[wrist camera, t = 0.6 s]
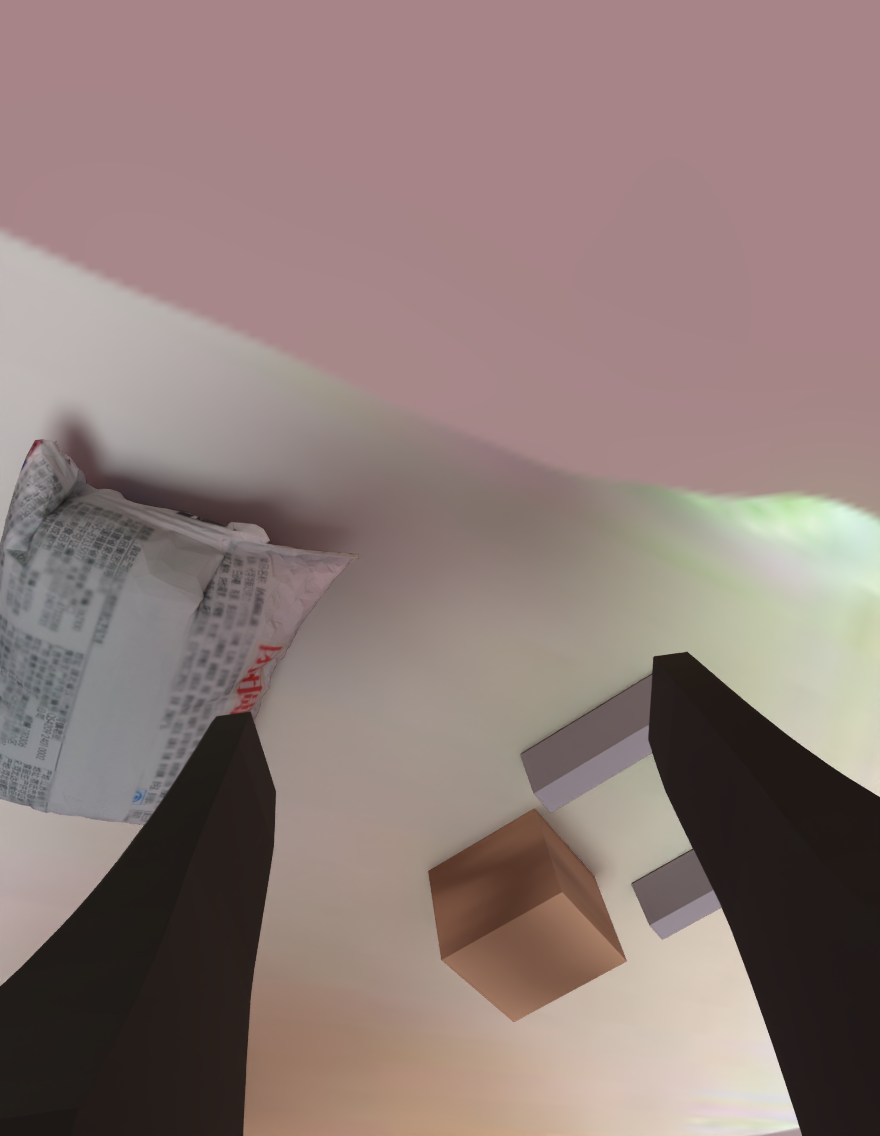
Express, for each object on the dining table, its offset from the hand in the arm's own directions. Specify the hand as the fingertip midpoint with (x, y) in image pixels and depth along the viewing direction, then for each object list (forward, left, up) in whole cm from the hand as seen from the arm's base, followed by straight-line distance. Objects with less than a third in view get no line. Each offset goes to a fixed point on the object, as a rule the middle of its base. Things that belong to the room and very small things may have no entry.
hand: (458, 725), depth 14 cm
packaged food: (-9, +1, -11) cm, 14 cm away
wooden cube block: (-6, -16, -11) cm, 20 cm away
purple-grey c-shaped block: (+1, -16, -10) cm, 19 cm away
